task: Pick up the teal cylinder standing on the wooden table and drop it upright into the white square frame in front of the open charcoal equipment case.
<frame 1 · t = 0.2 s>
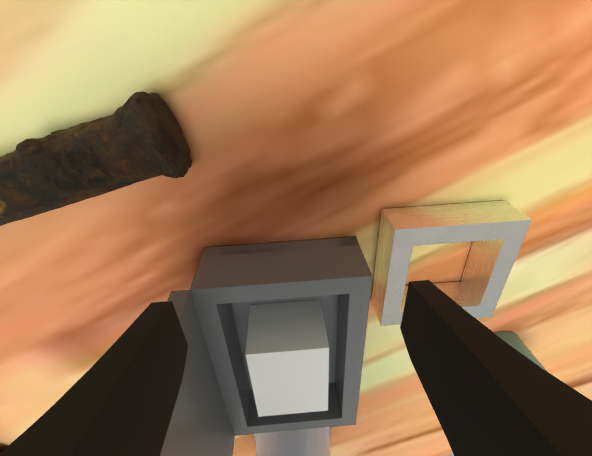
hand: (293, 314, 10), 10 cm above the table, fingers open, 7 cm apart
teal cylinder: (495, 346, 27), on the table
white square frame: (431, 254, 21), on the table
hand tool: (39, 182, 17), on the table
equipment case: (287, 325, 24), on the table
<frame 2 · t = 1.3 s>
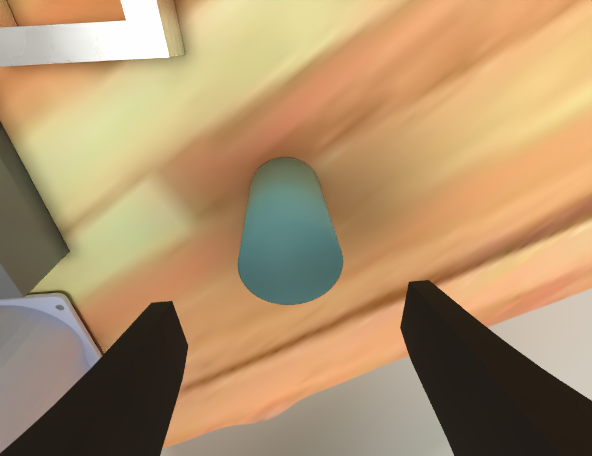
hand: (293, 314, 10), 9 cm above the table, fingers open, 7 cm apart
teal cylinder: (284, 190, 18), on the table
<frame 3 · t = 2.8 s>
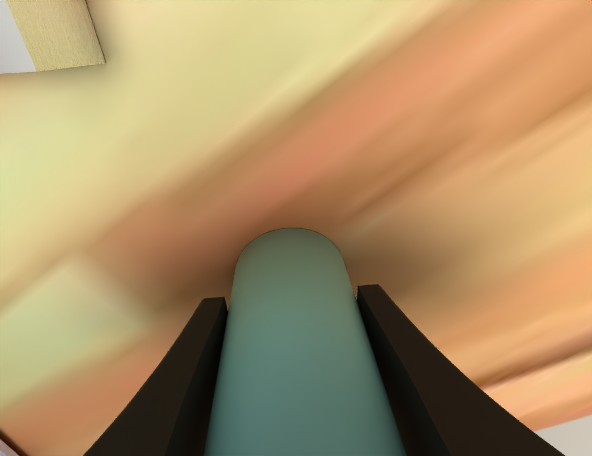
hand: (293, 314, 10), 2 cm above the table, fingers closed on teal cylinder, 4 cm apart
teal cylinder: (290, 274, 11), on the table, touching gripper
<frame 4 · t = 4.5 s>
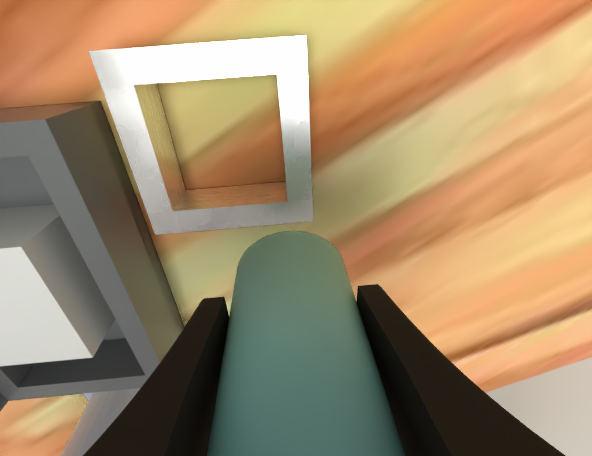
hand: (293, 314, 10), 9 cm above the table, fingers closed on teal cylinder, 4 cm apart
teal cylinder: (291, 276, 11), point 7 cm above the table, touching gripper
white square frame: (226, 135, 15), on the table
equipment case: (68, 250, 18), on the table
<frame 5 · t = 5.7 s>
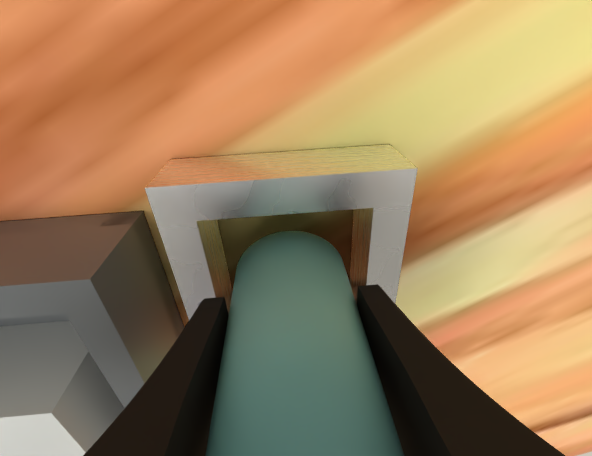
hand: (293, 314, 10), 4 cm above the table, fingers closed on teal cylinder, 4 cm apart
teal cylinder: (290, 276, 11), point 2 cm above the table, touching gripper
white square frame: (287, 242, 13), on the table
equipment case: (93, 353, 16), on the table
when the fingers open (3 cm above the table, at t = 6.3 s): teal cylinder drops 1 cm, resting in white square frame.
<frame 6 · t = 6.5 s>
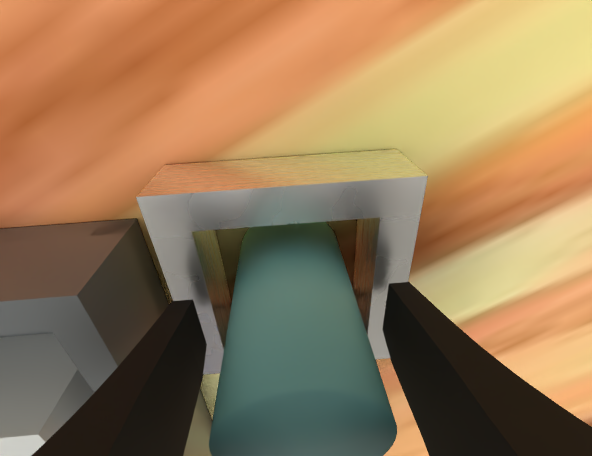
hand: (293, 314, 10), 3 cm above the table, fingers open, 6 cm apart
teal cylinder: (289, 252, 13), resting in white square frame
white square frame: (288, 251, 12), on the table
equipment case: (87, 364, 15), on the table
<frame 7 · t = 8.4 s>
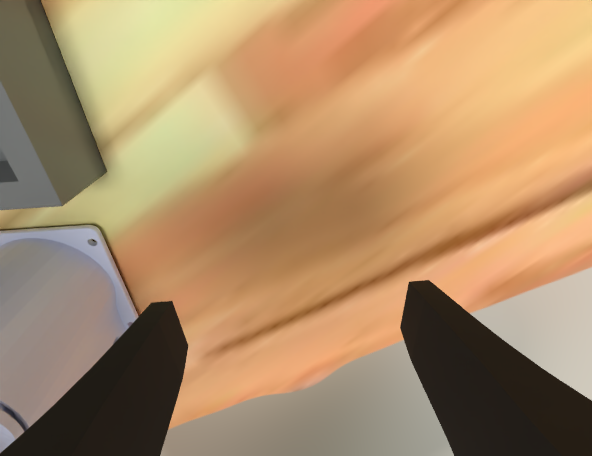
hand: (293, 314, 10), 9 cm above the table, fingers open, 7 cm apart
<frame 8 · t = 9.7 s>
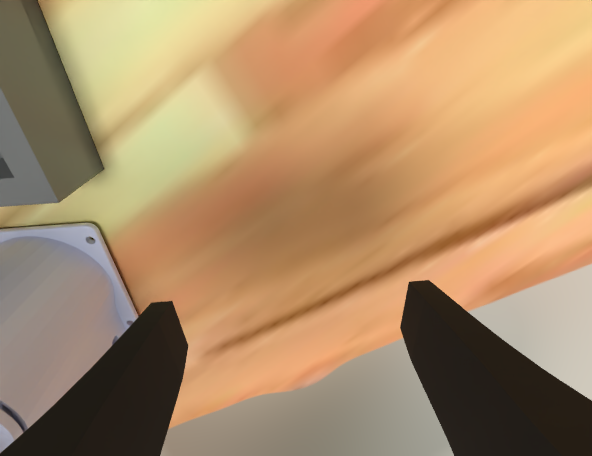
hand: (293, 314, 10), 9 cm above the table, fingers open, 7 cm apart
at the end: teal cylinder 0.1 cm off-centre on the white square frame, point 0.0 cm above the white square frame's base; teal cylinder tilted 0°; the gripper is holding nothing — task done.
